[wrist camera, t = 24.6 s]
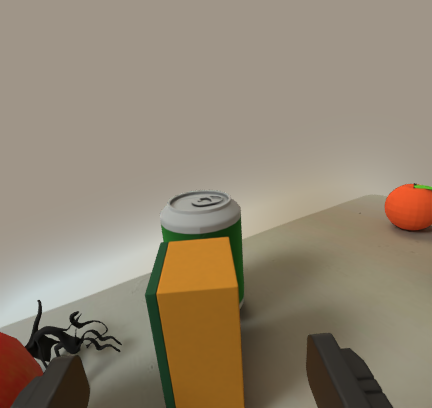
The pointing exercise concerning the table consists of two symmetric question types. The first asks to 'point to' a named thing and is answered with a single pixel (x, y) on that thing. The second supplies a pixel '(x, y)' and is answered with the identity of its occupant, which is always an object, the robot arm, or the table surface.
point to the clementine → (410, 206)
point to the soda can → (206, 223)
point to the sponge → (197, 324)
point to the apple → (15, 369)
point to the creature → (61, 339)
